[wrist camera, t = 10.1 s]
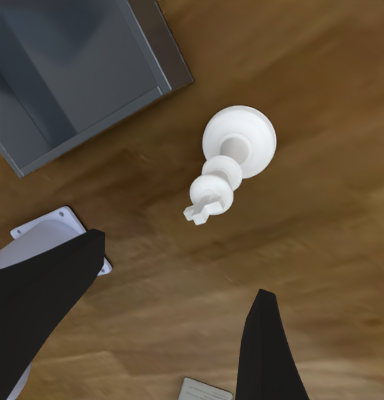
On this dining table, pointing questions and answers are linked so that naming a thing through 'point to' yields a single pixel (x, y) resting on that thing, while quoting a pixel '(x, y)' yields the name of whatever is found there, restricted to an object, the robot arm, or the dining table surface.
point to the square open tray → (79, 73)
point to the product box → (201, 391)
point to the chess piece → (230, 159)
